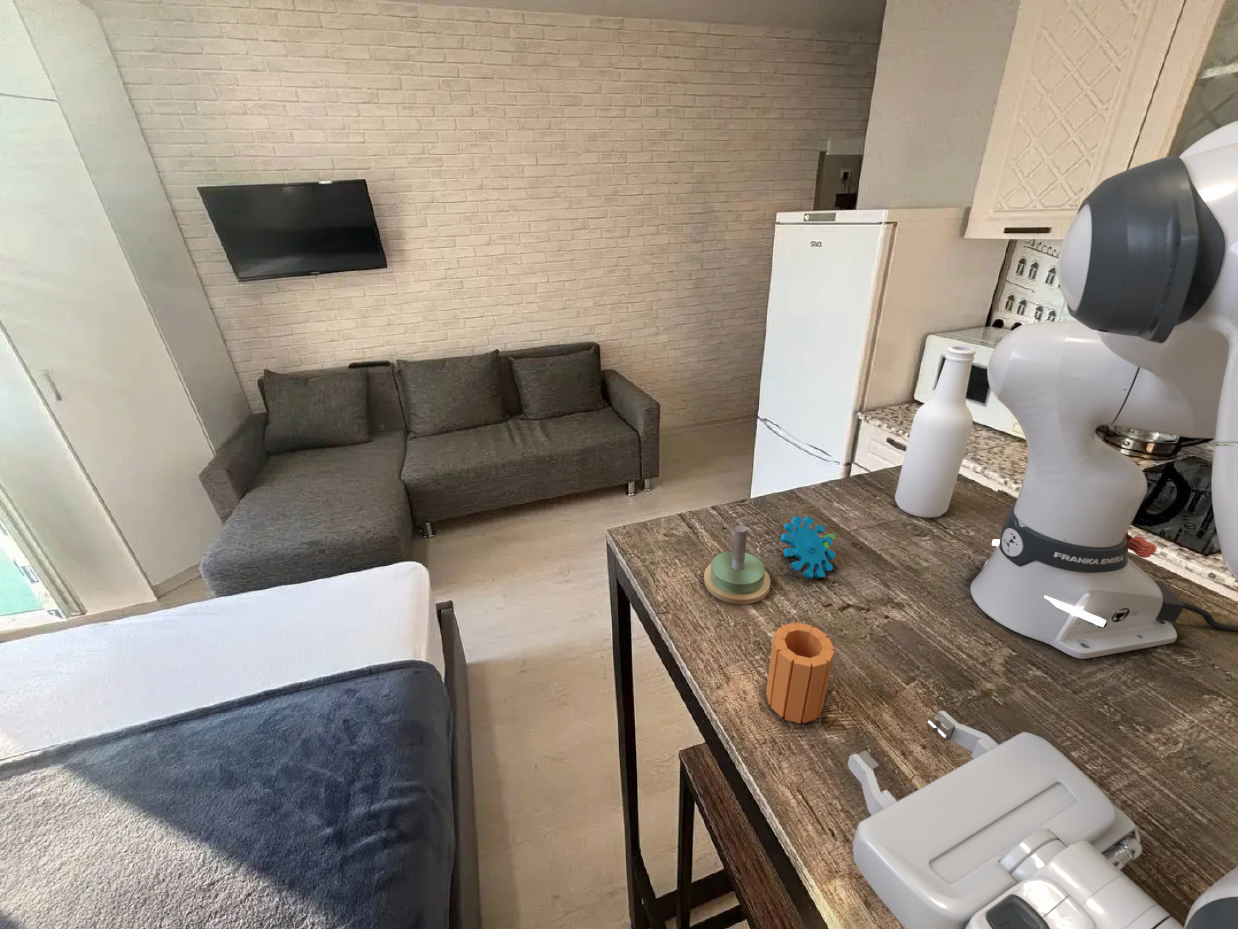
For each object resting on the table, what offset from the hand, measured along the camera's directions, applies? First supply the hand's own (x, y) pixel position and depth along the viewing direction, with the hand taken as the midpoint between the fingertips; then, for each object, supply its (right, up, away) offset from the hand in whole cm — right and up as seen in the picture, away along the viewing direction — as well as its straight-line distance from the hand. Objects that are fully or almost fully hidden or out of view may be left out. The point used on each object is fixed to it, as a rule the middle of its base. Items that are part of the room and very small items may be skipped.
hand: (895, 736), depth 46 cm
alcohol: (+32, +16, +50) cm, 62 cm away
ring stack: (-7, +6, +33) cm, 34 cm away
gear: (+6, +8, +36) cm, 38 cm away
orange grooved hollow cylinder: (-4, -3, +14) cm, 15 cm away
